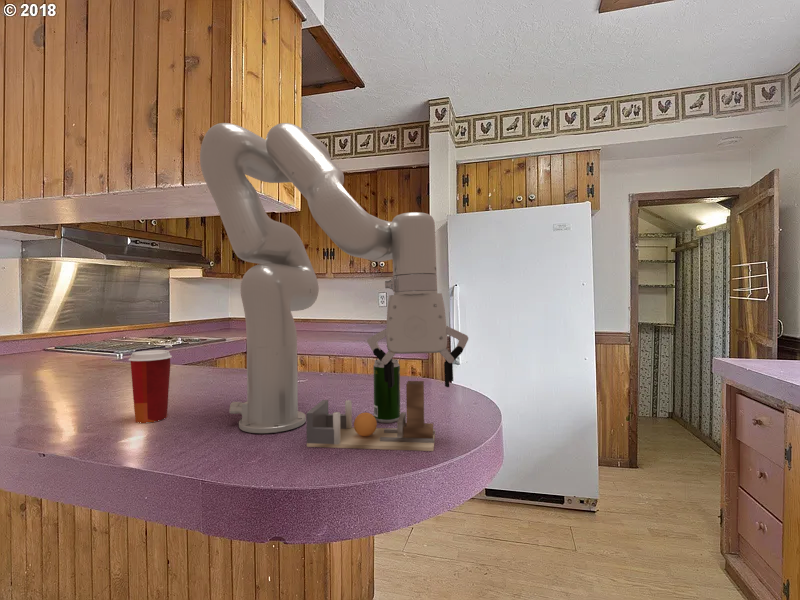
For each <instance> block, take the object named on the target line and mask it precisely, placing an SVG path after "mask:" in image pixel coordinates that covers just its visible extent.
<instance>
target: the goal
mask: <svg viewBox="0 0 800 600" xmlns="http://www.w3.org/2000/svg"><path fill="white" fill-rule="evenodd" d="M352 403H353V402H352V400H351V399H350V400H349V399H347V400H345V401H344V409H345V410H344V411H345V412H344V413H341V412H340V411H335V412H332V413H329V399H322V400H321V401H320V402H319V403H317V404H316V405H315V406H314V407H312V408H311V409H310V410H309V411H307V412H306V414H305V415H306V444H307V443H316V444H340V443H341V435H340V429H351V428H352V427H353V418H352V417H353V412H352V411H353V410H352V409H353V408H352V407H353V405H352Z"/></svg>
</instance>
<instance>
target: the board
mask: <svg viewBox="0 0 800 600" xmlns="http://www.w3.org/2000/svg"><path fill="white" fill-rule="evenodd" d="M340 435H341V443H340V444H316V443H307V442H306V447H308V448H332V449H334V448H335V449H337V448H338V449H360V450H361V449H365V450H392V451H393V450H394V451H421V452H422V451H424V452H434V449H435V439H436V429H434V428H433V438H403V437H402V438H397V427H395V428H393V427H392V428H390V427H389V428H388V427H376V430H375V431H374V433H373V434H371V435H369V436H361V435H359V434H358V433H357V432H356V431H355V429H354V426H352V428H351V429H340Z"/></svg>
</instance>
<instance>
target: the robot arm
mask: <svg viewBox="0 0 800 600" xmlns="http://www.w3.org/2000/svg"><path fill="white" fill-rule="evenodd" d="M199 160H200V161H199V165H200V169H201V173H202V176H203V179H204V182H205V183H206V186H207V188H208V190H209V192H210V194H211V197H212V198H213V201H214V202H215V203H214V204H215V205H216V208H217V211H218V214H219V216H220V219H221V222H222V224H223V227H224V230H225V232H226V234H227V237H228V240H229V243H230V245H231V248H232V250H233V252H234V253H235V255H236V256H237V258H238V259H241V261H244V262H247V263H250V264H251V263H253V264H256V265H254V266H251V267H250V268H249V269H248V270H247V271H246V272H245V273H244V274H243V277H242V279H241V282H240V297H241V302H242V307H243V312H244V318H245V327H246V328H245V329H246V330H245V331H246V332H245V333H246V338H245V339H246V385H247V386H246V391H247V392H246V394H247V395H246V396H247V397H246V401H245V402H242V401H232V402H231V403H230V405H229V411H228V412H229V414H230V415H237V414H240V415H241V418H240V419H239V421H238V428H239V429H240V430H241V431H243V432H246V433H249V434H250V433H252V434H273V433H275V434H276V433H281V432H287V431H291V430H294V429H296V428H299V427H301V426H302V425H304V424H305V423H306V422H307V414H305V413H304V412H302V411H299V410H298V409H299V407H298V405H299V403H298V401H299V399H298V398H299V397H298V395H299V394H298V391H299V390H298V388H299V386H298V331H297V326H296V323H295V322H296V321H295V320H294V319H295V318H294V317H293V314H292V312H298V311H304V310H306V309H309V308H311V307H312V306H313V305H314V304H315V303H316V301H317V299H318V296H319V289H320V288H319V286H320V285H319V281H318V277H317V275H316V273H315V270H314V267H313V265H312V262H311V260H310V257H309V255H308V253H307V251H306V248H305V245H304V243H303V240H302V239H301V237H300V236H299V234H298V233H297V231H296V230H294V228H292V227H291V226H290V225H288V224H287V223H284V222H280V221H278V220H277V221H276V220H274V219H272V218H271V217H269V215H268V214H267V212H266V210H265V208H264V206H263V203H262V200H261V197H260V195H259V193H258V191H257V190H256V188H255V187H254V185H253V184H252V183H251V182H250V180H249V179H248V177H250V178H252V179H255V180H258V181H261V182H264V183H269V184H274V183H275V184H281V183H284V184H285V183H286V184H287V183H292V185H293V186H295V188H296V189H297V191H298V192H299V193H300V194H302V196H303V197H304V198H305V199H306V201H307V205H308V208H309V211H310V213H311V216H312V218H313V219H314V221H315V222H316V223H317V224H318V227H320V228H321V230H322V231H323V232H324V234H326V235H327V236H328V238H329V239H330V240H331V241H332V242H333V243H334V244H335V245H336V246H337V247H338V248H339V249H340V250H341V251H343V253H346V255H348V256H350V257H351V256H352V257H355V258H359V259H365V260H368V261H372V262H386V261H390V260H392V278H391V279H389V280H385V281H384V288H385V289H386V290H387V289H390V290H392V292H393V294H391V295H389V296H388V302H387V308H386V309H387V310H386V328H384V329H383V330H381V331H379V332H378V333H376V334H374V335H372V336H370V337H368V338H367V339H366V342H367V344H368V346H369V348H370V349H371V351H372V354H373V355H374V356H375V357H376V358H377V360H378V359H379V360H380V361H381V362H382V363H383V364H384V381H385V382H388V388H392V387H393V386H394V363H393V362H392V359H394V357H395V355H397V354H399V355H401V354H402V355H403V354H406V355H408V354H437V353H439V354H440V355H441V356H442V357H443V358H444V360H445V361H444V364H443V367H444V368H443V370H444V386H445V388H450V382H454V367H453V366H454V365H453V363H454V362H455V361H456V360H457V358H458V357H459V356H460V355H462V353H463V351H464V349H465V347H466V345H467V343H468V341H469V336H468V335H467V334H465V333H463V332H460V331H459V330H457V329H454V328H452V327H451V326H449V325H447V316H446V307H445V303H444V298H443V294H442V293H440V292H439V293H438V274H437V273H438V272H437V249H436V248H437V245H436V244H437V243H436V241H437V240H436V225H435V224H436V223H435V220H434V217H433V216H432V215H430V214H429V213H425V212H419V211H418V212H416V211H413V212H412V211H411V212H403V213H400V214H397V215H395V216H394V217H393V218H392V221H389V220H384V219H381V218H379V217H377V216H375V215H372V214H370V213H368V212H367V211H366V210H365V209H364V208H363V207H362V206H361V205H360V203H358V202H357V201H356V199H354V198H353V196H352V195H351V194H350V193H349V192H348V191H347V189H346V188H345V187H344V184H345V175H344V172H343V171H342V169H341V168H340V167H339V166H338V165H337V164H336V163H335V162H334V161H333V159H331V155H330V152H329V150H328V148H327V146H326V145H325V144H324V143H323V142H322V141H321V140H319V139H318V138H316V137H315V136H313V135H312V134H311V133H309V132H307V131H306V130H305V129H304V128H302V127H300V126H299V125H297V124H293V123H290V122H282V123H277V124H276V125H274V126H273V127H271V128H270V129H269V131H268V132H267V134H266V138H264V137H262V136H260V135H259V134H256V133H255V132H253V131H251V130H249V129H248V128H245V127H243V126H241V125H238V124H235V123H229V122H221V123H217V124H214V125H212V126H211V127H210V128H209V129H208V130H207V131H206V133H205V135H204V137H203V140H202V141H201V146H200V151H199ZM448 336H450V337H452V338H455V339H456V340H457V341H458V342H457V344H456V345H455V346H456V347H454V348H453V350H452V351H450V350H449V349H448ZM384 338H386V348H387V352H385V351H384V350H383V349H381V347H380V346H379V343H378V342H379V341H380V340H382V339H384Z"/></svg>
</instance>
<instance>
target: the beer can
mask: <svg viewBox="0 0 800 600" xmlns="http://www.w3.org/2000/svg"><path fill="white" fill-rule="evenodd" d="M399 361H400V360H399V359H395V358H392V362H393V363H394V386H393V387H392V388H388V382H385V381H384V364H383V363H382V362H381V361H380V360H379V359H378V358H377V359H374V364H373V368H372V369H373V416H374V417H375V419H376V421H377V422H378V423H380V424H390V423H391V424H393V423H397V422H398V419H399V417H400V415H401V365H400V362H399Z"/></svg>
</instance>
